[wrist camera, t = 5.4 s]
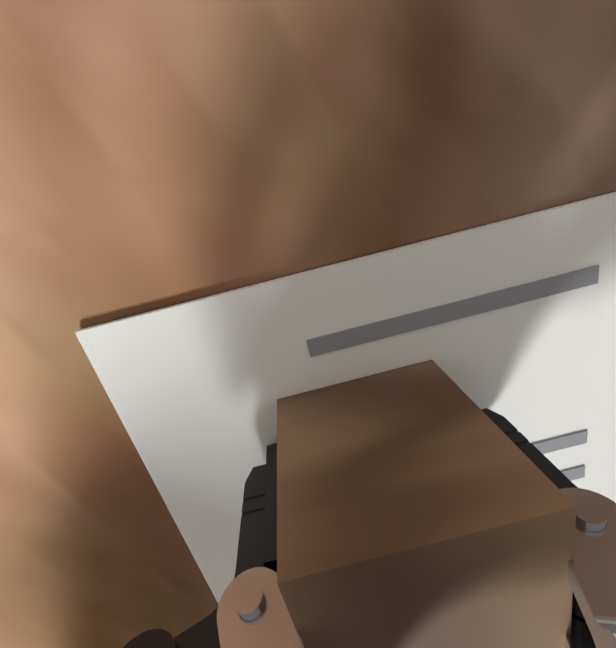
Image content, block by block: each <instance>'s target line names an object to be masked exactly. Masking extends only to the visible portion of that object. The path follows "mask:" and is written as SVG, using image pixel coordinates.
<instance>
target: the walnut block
mask: <svg viewBox="0 0 616 648" xmlns="http://www.w3.org/2000/svg"><path fill="white" fill-rule="evenodd" d="M575 525H576V506H575V505H574V504H573V503H572V502H571V501H570V500H569V499H568V498H567V497H566V496H565V495H564V494H563V493H562V492H561V491H560V489H559V488H558V487H557V486H556V485H555V484H554V483H553V482H552V481H551V480H550V479H549V478H548V477H547V476H546V475H545V474H544V473H543V472H542V471H541V470H540V469H539V468H538V467H537V466H536V465H535V464H534V463H533V462H532V461H531V460H530V459H529V458H528V457H527V456H526V455H525V454H524V453H523V452H522V451H521V450H520V449H519V448H518V447H517V446H516V445H515V444H514V443H513V442H512V441H511V440H510V438H509V437H508V436H507V435H506V434H505V433H504V432H503V431H502V430H501V429H500V428H499V427H498V426H497V425H496V424H495V423H494V422H493V421H492V420H491V419H490V418H489V417H488V416H487V415H486V414H485V413H484V412H483V411H482V410H481V409H480V408H479V407H478V406H477V405H476V404H475V403H474V402H473V401H472V400H471V399H470V398H469V397H468V396H467V395H466V394H465V393H464V392H463V391H462V390H461V389H460V388H459V386H458V385H457V384H456V383H455V382H454V381H453V380H452V379H451V378H450V377H449V376H448V375H447V374H446V373H445V372H444V371H443V370H442V369H441V368H440V367H439V366H438V365H437V364H436V363H435V362H434V361H433V360H428V361H424V362H420V363H416V364H412V365H409V366H405V367H401V368H397V369H393V370H389V371H385V372H381V373H377V374H373V375H370V376H366V377H362V378H358V379H354V380H350V381H346V382H342V383H338V384H335V385H331V386H327V387H323V388H319V389H315V390H311V391H307V392H303V393H299V394H296V395H292V396H288V397H284V398H280V399H277V584H278V587H279V589H280V592H281V594H282V597H283V599H284V602H285V604H286V607H287V609H288V612H289V614H290V617H291V619H292V621H293V624H294V626H295V629H296V630H299V632H300V635H301V637H302V640H303V642H304V644H305V647H306V648H565V635H569V634H571V619H572V596H573V591H572V588H571V586H570V584H569V581H568V560H571V559H574V549H575Z"/></svg>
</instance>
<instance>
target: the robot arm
mask: <svg viewBox="0 0 616 648" xmlns="http://www.w3.org/2000/svg"><path fill="white" fill-rule="evenodd" d="M481 410H482V411H483V412H484V413H485V414H486V415H487V416H488V417H489V418H490V419H491V420H492V421H493V422H494V423H495V424H496V425H497V426H498V427H499V428H500V429H501V430H502V431H503V432H504V433H505V434H506V435H507V436H508V437H509V438H510V440H511V441H512V442H513V443H514V444H515V445H516V446H517V447H518V448H519V449H520V450H521V451H522V452H523V453H524V454H525V455H526V456H527V457H528V458H529V459H530V460H531V461H532V462H533V463H534V464H535V465H536V466H537V467H538V468H539V469H540V470H541V471H542V472H543V473H544V474H545V475H546V476H547V477H548V478H549V479H550V480H551V481H552V482H553V483H554V484H555V485H556V486H557V487H558V488H559V489H560V491H561V492H562V493H563V494H564V495H565V496H566V497H567V498H568V499H569V500H570V501H571V502H572V503H573V504H574V505H575V506H576V525H575V549H574V559H571V560H568V581H569V584H570V586H571V588H572V591H573V596H572V619H571V634H569V635H565V648H616V503H615V502H614V501H612V500H611V499H609V498H607V497H605V496H603V495H601V494H599V493H596V492H594V491H590V490H587V489H581V488H578V487H577V486H575V485H574V484H573V483H572V482H571V481H570V480H569V479H568V478H567V477H566V476H565V475H564V474H563V473H562V472H561V471H560V470H559V469H558V468H557V467H556V466H555V465H554V464H553V463H552V462H551V461H550V460H549V459H547V458H546V457H545V456H544V455H543V454H542V453H541V452H540V451H539V450H538V449H537V448H536V447H535V446H534V445H533V444H532V443H529V441H528V439H527V438H526V437H525V436H524V435H523V434H522V433H521V432H518V430H517V429H516V428H515V427H514V426H513V425H512V424H511V423H510V422H509V421H508V420H507V419H506V418H505V417H504V416H502V415H500V414H498V413H496V412H494V411H492V410H490V409H488V408H484V409H481ZM123 648H306V647H305V644H304V642H303V640H302V637H301V635H300V632H299V630H296V629H295V626H294V624H293V621H292V619H291V617H290V614H289V612H288V609H287V607H286V604H285V602H284V599H283V597H282V594H281V592H280V589H279V587H278V584H277V443H273V444H270V445H267V452H266V464H264V465H260V466H256V467H253V469H252V470H251V472H250V474H249V476H248V478H247V480H246V482H245V486H244V495H243V505H242V517H241V523H240V533H239V542H238V552H237V561H236V571H235V576H234V579H233V581H232V582H231V583H230V584H229V585H228V587H227V588H226V589H225V591H224V593H223V595H222V597H221V599H220V602H219V605H218V607H217V608H216V609H215V610H214V611H213V612H212V613H211V614H210V615H209V616H207V617H206V618H205V619H203V620H202V621H200V622H198V623H197V624H195V625H194V626H192V627H191V628H189V629H188V630H186V631H184V632H183V633H181V634H180V635H178V636H177V637H175V638H173V637H172V636H171V635H170V634H169V633H168V632H167V631H165V630H162V629H152V630H148V631H146V632H143V633H141V634H139V635H138V636H136V637H135V638H133V639H132V640H131V641H129V642H128V643H127V644H126V645H125V646H124V647H123Z"/></svg>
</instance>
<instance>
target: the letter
mask: <svg viewBox="0 0 616 648" xmlns="http://www.w3.org/2000/svg"><path fill="white" fill-rule="evenodd" d="M75 334H76V336H77V338H78V340H79V341H80V343H81V345H82V347H83V349H84V351H85V353H86V355H87V357H88V359H89V360H90V362H91V364H92V366H93V368H94V370H95V372H96V374H97V376H98V377H99V379H100V381H101V383H102V385H103V387H104V389H105V391H106V393H107V394H108V396H109V398H110V400H111V402H112V404H113V406H114V408H115V410H116V411H117V413H118V415H119V417H120V419H121V421H122V423H123V425H124V427H125V428H126V430H127V432H128V434H129V436H130V438H131V440H132V442H133V444H134V446H135V447H136V449H137V451H138V453H139V455H140V457H141V459H142V461H143V463H144V464H145V466H146V468H147V470H148V472H149V474H150V476H151V478H152V480H153V481H154V483H155V485H156V487H157V489H158V491H159V493H160V495H161V497H162V498H163V500H164V502H165V504H166V506H167V508H168V510H169V512H170V514H171V516H172V517H173V519H174V521H175V523H176V525H177V527H178V529H179V531H180V533H181V534H182V536H183V538H184V540H185V542H186V544H187V546H188V548H189V550H190V551H191V553H192V555H193V557H194V559H195V561H196V563H197V565H198V567H199V568H200V570H201V572H202V574H203V576H204V578H205V580H206V582H207V584H208V586H209V587H210V589H211V591H212V593H213V595H214V597H215V599H216V601H217V603H218V604H219V602H220V599H221V597H222V595H223V593H224V591H225V589H226V588H227V587H228V585H229V584H230V583H231V582H232V581H233V579H234V576H235V571H236V561H237V552H238V542H239V533H240V523H241V517H242V505H243V495H244V486H245V482H246V480H247V478H248V476H249V474H250V472H251V470H252V469H253V467H256V466H260V465H264V464H266V452H267V445H270V444H273V443H277V399H280V398H284V397H288V396H292V395H296V394H299V393H303V392H307V391H311V390H315V389H319V388H323V387H327V386H331V385H335V384H338V383H342V382H346V381H350V380H354V379H358V378H362V377H366V376H370V375H373V374H377V373H381V372H385V371H389V370H393V369H397V368H401V367H405V366H409V365H412V364H416V363H420V362H424V361H428V360H433V361H434V362H435V363H436V364H437V365H438V366H439V367H440V368H441V369H442V370H443V371H444V372H445V373H446V374H447V375H448V376H449V377H450V378H451V379H452V380H453V381H454V382H455V383H456V384H457V385H458V386H459V388H460V389H461V390H462V391H463V392H464V393H465V394H466V395H467V396H468V397H469V398H470V399H471V400H472V401H473V402H474V403H475V404H476V405H477V406H478V407H479V408H480V409H484V408H488V409H490V410H492V411H494V412H496V413H498V414H500V415H502V416H504V417H505V418H506V419H507V420H508V421H509V422H510V423H511V424H512V425H513V426H514V427H515V428H516V429H517V430H518V432H521V433H522V434H523V435H524V436H525V437H526V438H527V439H528V441H529V443H532V444H533V445H534V446H535V447H536V448H537V449H538V450H539V451H540V452H541V453H542V454H543V455H544V456H545V457H546V458H547V459H549V460H550V461H551V462H552V463H553V464H554V465H555V466H556V467H557V468H558V469H559V470H560V471H561V472H562V473H563V474H564V475H565V476H566V477H567V478H568V479H569V480H570V481H571V482H572V483H573V484H574V485H575V486H577V487H578V488H581V489H587V490H590V491H594V492H596V493H599V494H601V495H603V496H605V497H607V498H609V499H611V500H612V501H614V502H615V503H616V192H612V193H608V194H604V195H600V196H596V197H592V198H588V199H585V200H581V201H577V202H573V203H569V204H565V205H561V206H557V207H553V208H550V209H546V210H542V211H538V212H534V213H530V214H526V215H522V216H518V217H515V218H511V219H507V220H503V221H499V222H495V223H491V224H487V225H483V226H480V227H476V228H472V229H468V230H464V231H460V232H456V233H452V234H449V235H445V236H441V237H437V238H433V239H429V240H425V241H421V242H417V243H414V244H410V245H406V246H402V247H398V248H394V249H390V250H386V251H382V252H379V253H375V254H371V255H367V256H363V257H359V258H355V259H351V260H347V261H344V262H340V263H336V264H332V265H328V266H324V267H320V268H316V269H312V270H309V271H305V272H301V273H297V274H293V275H289V276H285V277H281V278H278V279H274V280H270V281H266V282H262V283H258V284H254V285H250V286H246V287H243V288H239V289H235V290H231V291H227V292H223V293H219V294H215V295H211V296H208V297H204V298H200V299H196V300H192V301H188V302H184V303H180V304H176V305H173V306H169V307H165V308H161V309H157V310H153V311H149V312H145V313H141V314H138V315H134V316H130V317H126V318H122V319H118V320H114V321H110V322H107V323H103V324H99V325H95V326H91V327H87V328H83V329H79V330H78V331H76V332H75Z"/></svg>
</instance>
